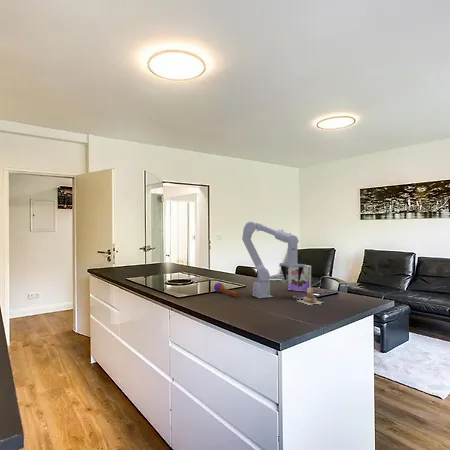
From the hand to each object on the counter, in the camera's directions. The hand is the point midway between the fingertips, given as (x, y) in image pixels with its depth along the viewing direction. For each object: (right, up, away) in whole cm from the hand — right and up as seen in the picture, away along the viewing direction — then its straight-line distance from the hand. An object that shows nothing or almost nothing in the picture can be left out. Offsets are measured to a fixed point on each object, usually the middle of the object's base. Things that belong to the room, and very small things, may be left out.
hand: (292, 280), depth 184 cm
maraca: (-38, -10, +6) cm, 40 cm away
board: (+7, -10, -13) cm, 18 cm away
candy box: (+9, -11, +19) cm, 24 cm away
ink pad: (+5, -10, -2) cm, 11 cm away
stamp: (+7, -9, -13) cm, 17 cm away
